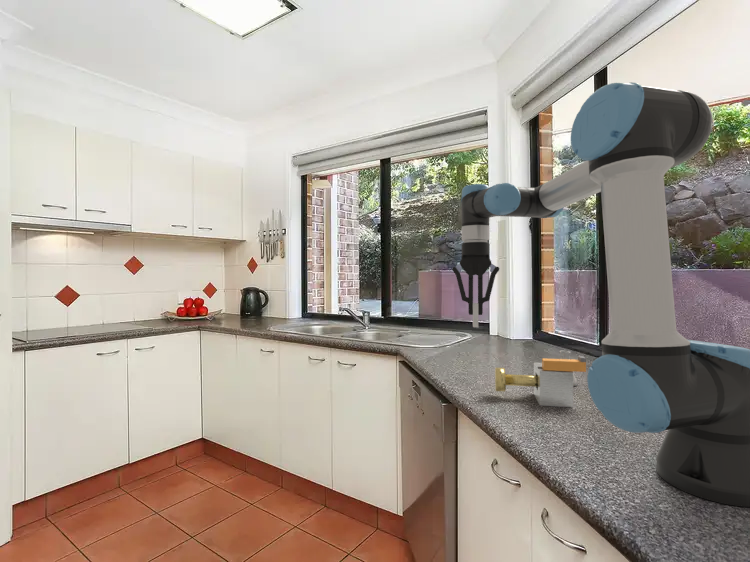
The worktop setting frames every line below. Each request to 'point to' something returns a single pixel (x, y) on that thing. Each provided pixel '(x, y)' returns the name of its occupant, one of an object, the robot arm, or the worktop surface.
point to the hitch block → (553, 387)
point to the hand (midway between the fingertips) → (475, 326)
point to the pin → (513, 380)
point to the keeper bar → (565, 364)
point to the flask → (566, 356)
